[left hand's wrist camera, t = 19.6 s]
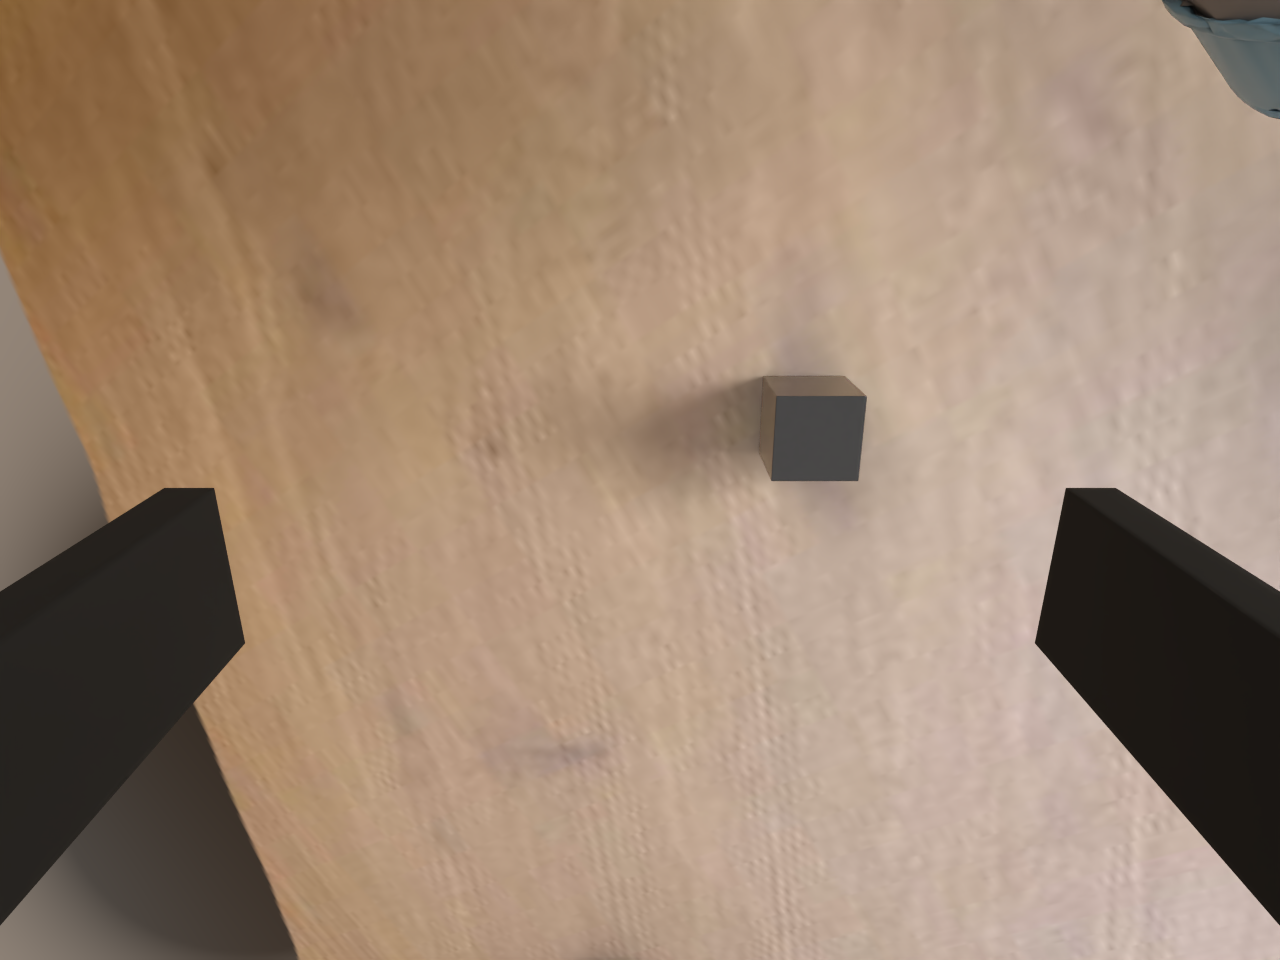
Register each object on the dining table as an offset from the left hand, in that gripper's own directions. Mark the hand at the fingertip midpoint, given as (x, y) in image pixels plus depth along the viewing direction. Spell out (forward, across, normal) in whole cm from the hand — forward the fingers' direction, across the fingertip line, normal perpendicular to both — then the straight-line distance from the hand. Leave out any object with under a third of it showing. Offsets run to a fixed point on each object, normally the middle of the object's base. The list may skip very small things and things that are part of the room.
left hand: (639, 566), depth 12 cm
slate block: (+27, +8, -5) cm, 28 cm away
